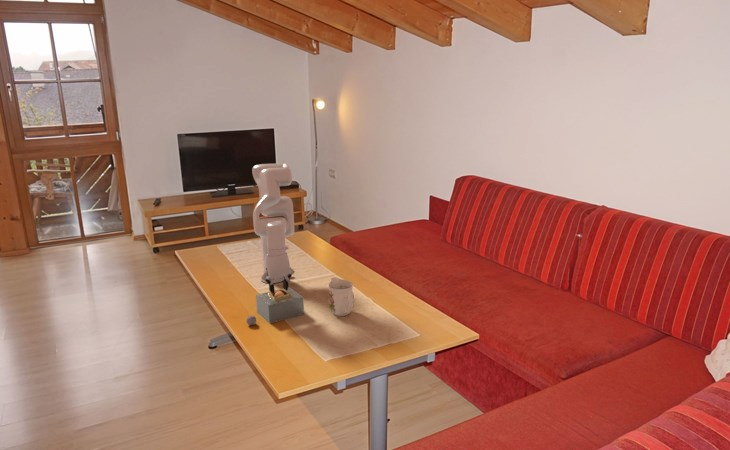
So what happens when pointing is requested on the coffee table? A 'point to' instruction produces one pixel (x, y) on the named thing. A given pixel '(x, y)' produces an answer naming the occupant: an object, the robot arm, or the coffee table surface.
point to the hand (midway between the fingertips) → (279, 290)
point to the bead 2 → (279, 294)
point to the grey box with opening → (280, 305)
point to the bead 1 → (251, 320)
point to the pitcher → (340, 296)
